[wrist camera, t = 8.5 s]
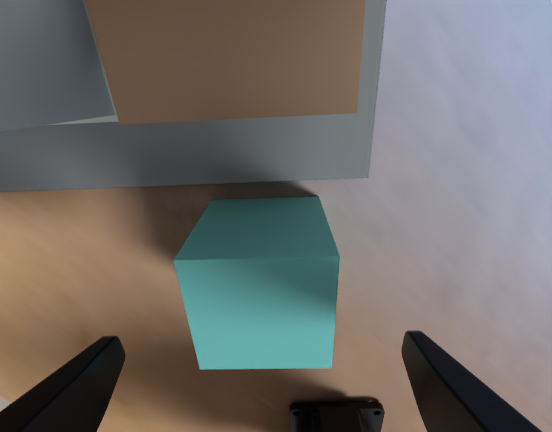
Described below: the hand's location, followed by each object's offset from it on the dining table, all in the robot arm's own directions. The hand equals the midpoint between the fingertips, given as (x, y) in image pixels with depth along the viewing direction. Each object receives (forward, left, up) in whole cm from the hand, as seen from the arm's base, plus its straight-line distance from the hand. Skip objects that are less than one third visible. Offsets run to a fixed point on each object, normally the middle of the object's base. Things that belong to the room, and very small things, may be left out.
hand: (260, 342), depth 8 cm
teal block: (0, 0, -6) cm, 6 cm away
